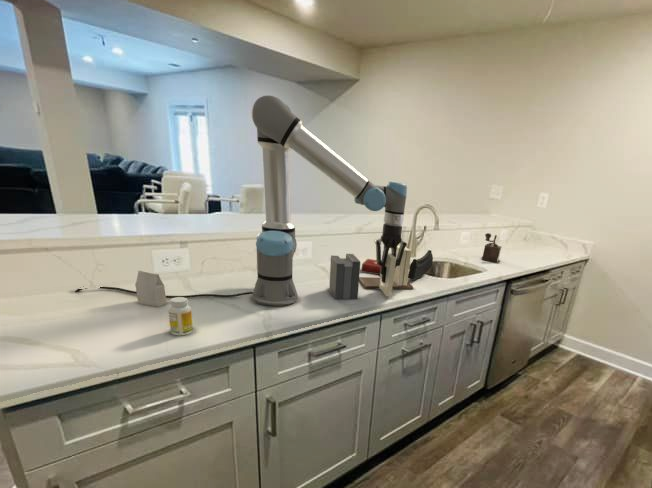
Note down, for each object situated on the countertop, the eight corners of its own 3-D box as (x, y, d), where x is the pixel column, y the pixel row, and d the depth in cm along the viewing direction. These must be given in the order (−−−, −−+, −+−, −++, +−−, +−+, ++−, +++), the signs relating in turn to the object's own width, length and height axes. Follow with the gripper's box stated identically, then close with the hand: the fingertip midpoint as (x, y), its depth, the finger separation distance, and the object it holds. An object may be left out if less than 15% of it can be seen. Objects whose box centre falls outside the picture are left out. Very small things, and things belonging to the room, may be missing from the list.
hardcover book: (403, 278, 186) (404, 269, 184) (361, 271, 187) (362, 263, 185) (406, 272, 197) (407, 264, 196) (366, 266, 198) (367, 258, 196)
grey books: (334, 299, 147) (337, 260, 141) (329, 288, 157) (331, 252, 151) (357, 298, 150) (360, 261, 144) (350, 289, 160) (353, 253, 154)
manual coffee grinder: (482, 256, 262) (488, 230, 254) (498, 260, 259) (504, 233, 252) (479, 260, 248) (485, 233, 241) (496, 264, 245) (502, 236, 238)
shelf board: (365, 288, 163) (365, 286, 163) (358, 279, 174) (358, 277, 174) (412, 289, 172) (413, 286, 171) (403, 280, 183) (403, 278, 182)
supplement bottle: (169, 336, 103) (165, 303, 99) (172, 328, 108) (168, 296, 104) (192, 335, 105) (189, 302, 102) (194, 327, 110) (191, 295, 106)
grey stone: (157, 306, 119) (152, 275, 115) (138, 302, 120) (133, 271, 116) (166, 303, 123) (162, 273, 119) (147, 299, 123) (143, 269, 120)
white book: (386, 296, 155) (391, 257, 149) (378, 287, 164) (383, 250, 158) (391, 296, 156) (396, 258, 150) (383, 287, 165) (387, 251, 159)
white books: (397, 285, 170) (402, 250, 163) (390, 278, 179) (394, 244, 173) (406, 285, 171) (411, 250, 165) (398, 278, 180) (402, 244, 174)
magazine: (414, 265, 176) (434, 238, 198) (407, 263, 177) (428, 237, 199) (413, 295, 187) (432, 267, 209) (407, 294, 188) (426, 266, 210)
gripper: (377, 224, 143) (371, 284, 152) (414, 227, 149) (406, 285, 158) (371, 220, 150) (366, 278, 159) (407, 224, 155) (400, 279, 165)
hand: (386, 281), depth 158 cm, fingers closed on white book, 2 cm apart
